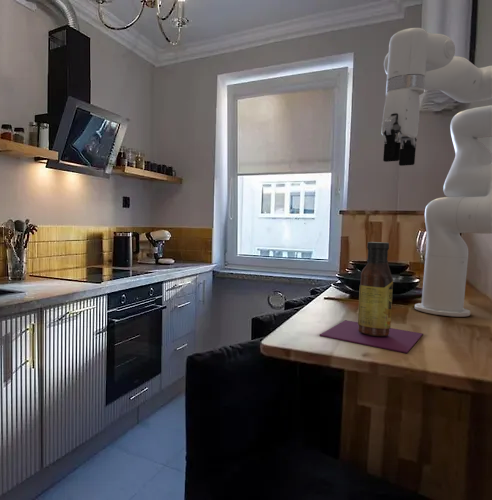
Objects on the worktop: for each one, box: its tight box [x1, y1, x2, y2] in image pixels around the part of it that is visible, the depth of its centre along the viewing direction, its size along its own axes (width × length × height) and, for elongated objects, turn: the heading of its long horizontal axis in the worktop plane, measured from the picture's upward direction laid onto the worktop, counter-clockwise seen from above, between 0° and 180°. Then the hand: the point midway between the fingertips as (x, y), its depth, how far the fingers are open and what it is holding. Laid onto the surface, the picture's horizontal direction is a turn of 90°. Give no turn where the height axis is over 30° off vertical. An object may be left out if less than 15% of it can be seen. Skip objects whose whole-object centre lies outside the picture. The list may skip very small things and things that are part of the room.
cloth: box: [319, 319, 424, 354], centre depth 91 cm, size 18×16×1 cm
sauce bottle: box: [357, 241, 394, 337], centre depth 91 cm, size 7×6×20 cm
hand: (399, 163), depth 99 cm, fingers open, 9 cm apart
